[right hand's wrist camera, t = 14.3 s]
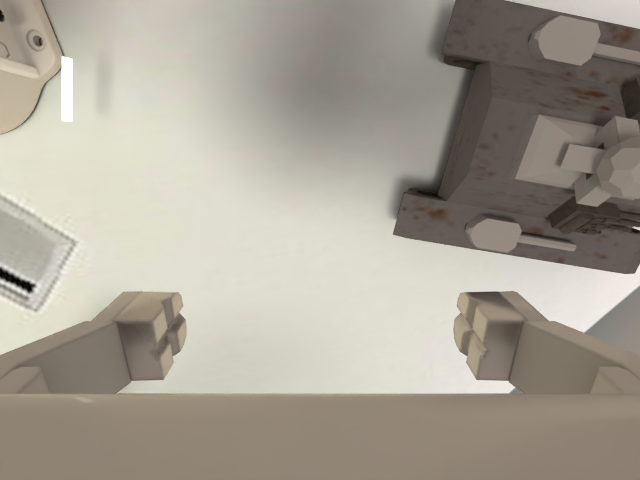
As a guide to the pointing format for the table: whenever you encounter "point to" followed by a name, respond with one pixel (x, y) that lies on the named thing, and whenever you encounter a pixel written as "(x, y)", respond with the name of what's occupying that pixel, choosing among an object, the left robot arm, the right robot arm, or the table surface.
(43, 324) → the table surface
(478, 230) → the toy
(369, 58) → the table surface
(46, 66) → the right robot arm
